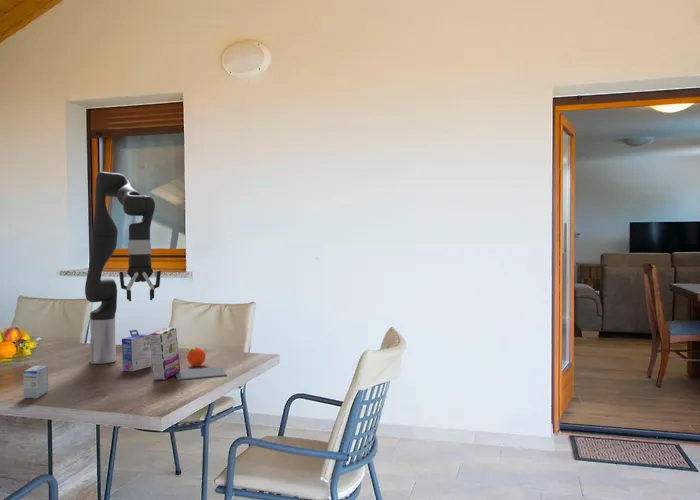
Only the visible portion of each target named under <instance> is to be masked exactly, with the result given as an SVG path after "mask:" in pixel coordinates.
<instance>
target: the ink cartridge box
mask: <svg viewBox="0 0 700 500" xmlns="http://www.w3.org/2000/svg"><path fill="white" fill-rule="evenodd" d="M129 334H130V336H128V337H127V336H126V337H124V338H121V347H122V348H121V351H122V354H121V355H122V370H123V371H126V372H136V371H139V370H143V369H145V368H146V369H147V368H149V367H151V366H152V357H151V348H150V338H149V334H139V332H138V330H137V329H132V330H129Z"/></svg>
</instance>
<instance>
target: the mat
mask: <svg viewBox="0 0 700 500" xmlns="http://www.w3.org/2000/svg"><path fill="white" fill-rule="evenodd" d="M174 376H175V378H176V381H185V380H197V379H208V378H209V379H210V378H218V377H219V378H220V377H227V376H228V375H227V373H226V372H225V370H224V369H223V368H222V367H221V366H212V367H211V366H210V367H200V368H199V367H198V368H188V369H180V372H178V373H176V374H175V375H174Z"/></svg>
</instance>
